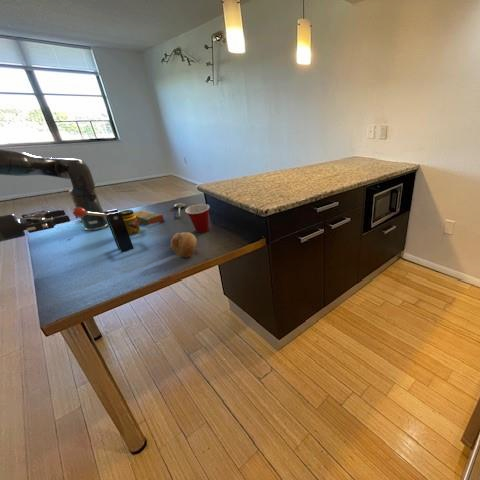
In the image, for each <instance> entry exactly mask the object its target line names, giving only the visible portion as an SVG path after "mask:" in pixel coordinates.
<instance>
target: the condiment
mask: <svg viewBox="0 0 480 480" xmlns="http://www.w3.org/2000/svg"><path fill="white" fill-rule="evenodd" d="M120 212H121V215H122V217H123V220H124V223H125V225H126V228H127V231H128V234H129V236H135V235H138V234H140V233H141V232H142V230H141V227H140V224H138V221H137V218H136V216H135V215H134V212H135V211H134V210H133V209H125V210H122V211H120Z"/></svg>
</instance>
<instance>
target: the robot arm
mask: <svg viewBox="0 0 480 480" xmlns="http://www.w3.org/2000/svg"><path fill="white" fill-rule="evenodd" d="M0 175H1V176H12V177H13V176H14V177H31V176H33V177H34V176H47V177H52V178H53V177H54V178H59V179H65V180H70V182H71V185H72V186H71V188H69V189H68V194H69V196H70V198H71V200H72V203H73V204H74V207H75V208H77V207H81V208H84V209H85V210H86V211H87V212H96V213H104V212H105V211H104V210H103V207H102V204H101V202H100V199H99V197H98V194H97V192H96V183H95V181H94V177H93V174H92V171H91V169H90V167H89V166H88V164H87V163H86V162H85V161H84V160H82V159H78V158H56V157H55V158H52V157H51V158H50V157H41V156H36V155H32V154H29V153H26V152H21V151H15V150H8V149H1V148H0ZM20 216H21V218H17V216H16V214H14V213H9V214H4V215H0V243H1V242H6V241H10V240H15V239H18V238H23V237H25V236H26V233H25V232H26V231H27V232H28V234H33V233H36V232H41V231H45V230H50V229H54V228H55V226H57V225H61V224H65V223H69V222H71V218H70V217H69V215H68V214H66V211H65V210H64V209H62V208H61V209H55V210H51V211H48V210H40V211H35V212H30V213H25V214H21V215H20ZM78 218H80V219H79V222H80V223H82V225H83V228H84V230H85V231H89V232H91V231H92V232H93V231H99V230H102V229H105V228H107V227H109V225H108V222H107V220H106V217H104V216H95V215H85V216H83V217H76V216H75V219H78ZM80 220H81V221H80Z"/></svg>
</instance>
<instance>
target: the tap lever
mask: <svg viewBox="0 0 480 480" xmlns="http://www.w3.org/2000/svg"><path fill="white" fill-rule="evenodd" d="M110 213H113V212H109V214H110ZM72 214H73V216H74V217H75V218H76V217H78V218H79V217H83V216H85V215H95V216H104V217H107V215H106V214H104V213H96V212H87V211H86V210H85V209H84V208H81V207H77V208H76V207H75V208H73V210H72Z"/></svg>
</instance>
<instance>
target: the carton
mask: <svg viewBox="0 0 480 480" xmlns="http://www.w3.org/2000/svg"><path fill="white" fill-rule="evenodd" d="M133 212H134V215H135V216H136V218H137V221H138V224H139V225H141V226H149V225H151V224H152V225H153V224H156V223H160V224H162V223H164V222H165V219H164V216H163V214H161V213H156V212H153V211H149V210H146V209H141V210H137V211H133Z"/></svg>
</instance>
